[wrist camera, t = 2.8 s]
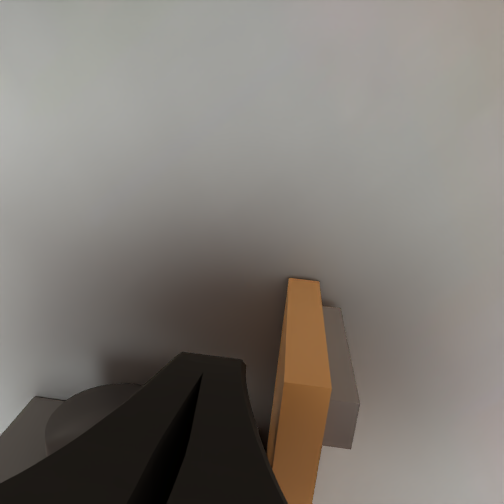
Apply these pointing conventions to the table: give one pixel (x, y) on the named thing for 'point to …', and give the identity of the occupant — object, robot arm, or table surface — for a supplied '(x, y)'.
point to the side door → (310, 391)
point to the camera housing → (56, 425)
